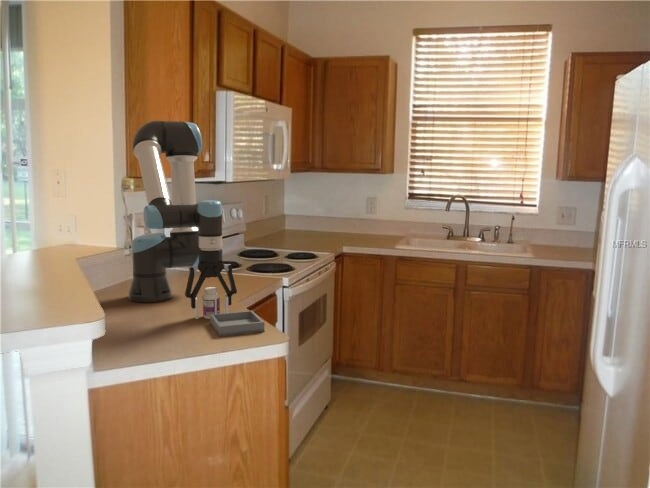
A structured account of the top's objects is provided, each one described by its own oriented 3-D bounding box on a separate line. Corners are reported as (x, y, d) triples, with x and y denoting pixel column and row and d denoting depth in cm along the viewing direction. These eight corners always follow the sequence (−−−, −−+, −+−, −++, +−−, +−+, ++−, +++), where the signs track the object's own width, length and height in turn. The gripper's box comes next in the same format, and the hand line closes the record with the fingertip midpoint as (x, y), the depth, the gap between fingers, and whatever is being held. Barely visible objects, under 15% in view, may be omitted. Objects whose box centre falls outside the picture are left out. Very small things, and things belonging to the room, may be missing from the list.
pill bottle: (212, 313, 188) (212, 285, 186) (223, 316, 184) (222, 288, 183) (199, 317, 184) (199, 288, 182) (210, 320, 180) (209, 291, 179)
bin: (219, 336, 164) (219, 326, 164) (210, 323, 177) (210, 314, 176) (264, 331, 170) (264, 322, 169) (252, 319, 182) (252, 310, 182)
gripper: (177, 252, 173) (179, 322, 176) (246, 248, 181) (247, 316, 185) (174, 248, 180) (175, 316, 183) (240, 245, 188) (241, 310, 192)
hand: (211, 316), depth 184 cm, fingers open, 9 cm apart
